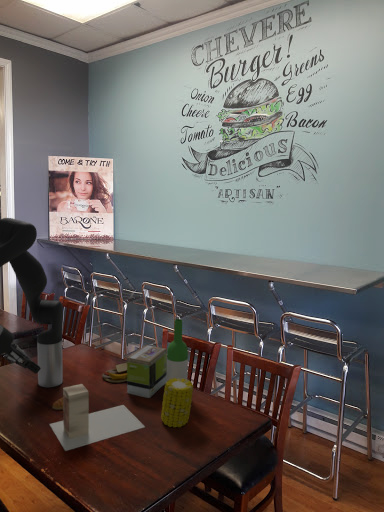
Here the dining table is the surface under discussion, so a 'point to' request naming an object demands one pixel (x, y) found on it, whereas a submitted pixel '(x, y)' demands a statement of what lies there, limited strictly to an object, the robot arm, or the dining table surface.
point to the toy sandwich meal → (116, 374)
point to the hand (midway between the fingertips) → (37, 370)
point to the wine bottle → (177, 355)
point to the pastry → (58, 404)
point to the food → (176, 402)
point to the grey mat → (100, 427)
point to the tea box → (146, 371)
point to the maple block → (76, 410)
